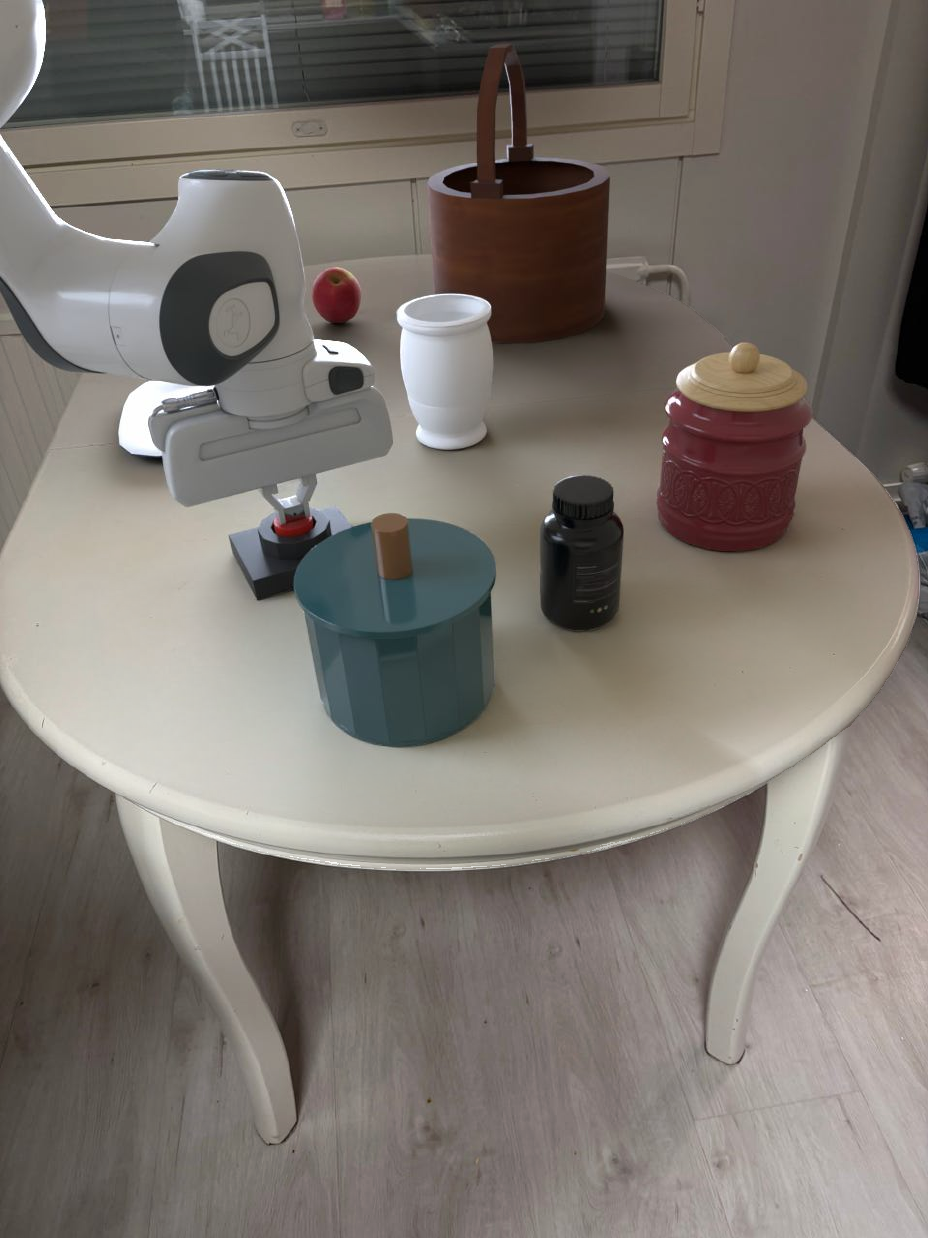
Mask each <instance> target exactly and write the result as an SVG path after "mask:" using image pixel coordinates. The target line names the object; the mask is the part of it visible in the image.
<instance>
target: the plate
mask: <svg viewBox="0 0 928 1238" xmlns="http://www.w3.org/2000/svg"><path fill="white" fill-rule="evenodd" d="M214 387H215V386H214V385H213V386H186V385H179V384H173V383H167V382H161V381H151V380H148V381H146V382H144V383H143V384H141V385H140V386H138V387H137V388H136V389H135V390H133V391H131V392H130V393H129V395H128V397H127V399H126V401H125V403H124V405H123V408H122V411H121V416H120V421H119V425H118V430H117V431H118V442H119V443H118V444H119V446H120V447H121V448H122V449H123V450H124V451H126V452H127V453H129V454H130V455H131V456H137V457H147V458H156V459H161V458H162V451H160V450H159V449H157V448H156V447H155V445H154V444H153V442H152V439H151V435H150V432H149V428H148V418H149V416H150V414H151V412H152V411H153V410H154V409H155V408H156V407H158V406H160V405H161V401H163V400H165V399H168V398H171V397H177V398H178V397H183V396H186V395H189V394H192V393H195V392H199V391H203V390H207V389H212V388H214ZM217 402H218V401H217ZM162 412H164V411H163V410H161V411H160V412H158V413H162ZM162 459H163V458H162Z"/></svg>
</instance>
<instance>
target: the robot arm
mask: <svg viewBox="0 0 928 1238" xmlns="http://www.w3.org/2000/svg"><path fill="white" fill-rule="evenodd" d="M45 46H46V17H45V8H44V2H43V0H0V129H1V128H2V127H3V126H4V125H5V124H6V123H7V122H8V121H9V120H10V119H11V117H12V116H13V115H14V114H15V113H16V111H17V110H18V109H19V107H20V106H21V105H22V103H23V102H24V101H25V99H26V97H27V96H28V95H29V93H30V91H31V89H32V88H33V86H34V85H35V82H36V80H37V77H38V75H39V73H40V70H41V67H42V63H43V59H44V52H45ZM177 199H178V200H177V203H176V206H175V208H174V210H173V212H172V214H171V216H170V218H169V219H168V220H167V222H166V224H165V225H164V226H163V228H162V229H161V230H160V231H159V232H158V233H157V234H156V235H155V236H154V237H152V238H151V239H150V240H149V242H146V241H135V240H125V239H113V238H108V237H107V238H106V237H103V236H99V235H95V234H92V233H88V232H85V231H83V230H82V229H79V228H76V227H74V226H72V225H71V224H68V223H67V222H65V221H64V220H62V219H61V218H60V217H58V215H57V214H55V212H54V210H53V209H52V208H51V207H50V205H49V204H48V202H47V201H46V199H45V197H44V196H43V195H42V193H41V192H40V191H39V189H38V187H36V185H35V183H34V182H33V180H32V179H31V178H30V176H29V175H28V174H27V172H26V171H25V169H24V167H23V166H22V165H21V163H20V162H19V160H18V159H17V158H16V156H15V155H14V153H13V151H12V150H11V149H10V147H9V146H8V144H7V143H6V141H5V140H4V139H3V137H2V135H1V134H0V294H1V296H2V298H3V300H4V302H5V304H6V306H7V308H8V310H9V312H10V315H11V316H12V318H13V320H14V323H15V324H16V326H17V328H18V330H19V332H20V333H21V335H22V337H23V338H24V340H25V341H26V343H27V344H28V345H29V347H30V348H31V349H32V350H33V352H34V353H35V354H36V355H37V356H38V357H39V358H41V359H42V360H43V361H45V362H46V363H47V364H49V365H50V366H52V367H55V368H57V369H59V370H62V371H65V372H71V373H83V374H85V373H86V374H102V375H105V374H106V375H107V374H110V375H114V376H115V375H116V376H121V377H127V378H128V377H129V378H133V379H139V380H145V381H161V382H167V383H173V384H179V385H186V386H213V385H214V386H215V387H214V388H212V389H207V390H203V391H199V392H195V393H192V394H189V395H186V396H183V397H178V398H177V397H171V398H168V399H165V400H163V401H161V405H160V406H158V407H156V408H155V409H154V410H153V411H152V412H151V414H150V416H149V418H148V428H149V432H150V435H151V439H152V442H153V444H154V445H155V447H156V448H157V449H159V450H160V451H162V464H163V465H162V466H163V470H164V475H165V480H166V484H167V487H168V490H169V493H170V495H171V496H172V498H173V500H174V501H175V502H177V503H178V504H180V505H182V506H183V507H185V508H190V507H194V506H199V505H202V504H206V503H210V502H213V501H217V500H220V499H225V498H229V497H232V496H236V495H240V494H245V493H248V492H251V491H255V490H258V491H259V493H260V494H261V496H262V497H263V498H264V500H266V501H267V502H268V503H269V504H270V505H271V506H272V508H273V510H274V512H275V515H276V518H277V520H278V522H279V524H280V525H283V524H287V523H290V522H294V521H297V520H301V519H304V518H308V517H310V516H311V515H310V509H309V507H310V503H309V502H311V499H312V497H313V494H314V492H315V490H316V488H317V485H318V479H317V474H322V473H325V472H329V471H333V470H336V469H340V468H344V467H348V466H351V465H356V464H359V463H363V462H367V461H371V460H374V459H378V458H383V457H386V456H387V455H388V453H389V452H390V450H391V448H392V446H393V445H394V435H393V429H392V424H391V423H392V422H391V419H390V414H389V411H388V408H387V403H386V400H385V398H384V396H383V394H382V393H381V392H380V391H379V390H378V388H376V386H374V385H375V383H376V372H375V369H374V367H373V365H372V364H371V362H370V361H369V360H368V359H367V358H366V357H365V355H364V354H362V353H361V352H360V351H358V350H357V349H356V348H355V347H353V346H351V345H350V344H349V343H346V342H342V341H333V340H324V339H323V340H322V339H315V335H314V331H313V328H312V326H311V323H310V321H309V319H308V315H307V312H306V307H305V296H306V295H305V294H306V288H307V287H306V285H307V284H306V283H307V282H306V277H305V276H306V275H305V268H304V263H303V262H304V261H303V258H302V252H301V251H302V250H301V247H300V242H299V237H298V232H297V228H296V223H295V220H294V216H293V213H292V210H291V207H290V203H289V201H288V198H287V196H286V193H285V190H284V188H283V187H282V185H281V183H280V182H279V181H278V179H276V178H275V177H273V176H271V175H270V174H268V173H266V172H262V171H257V170H241V169H240V170H239V169H218V168H217V169H216V168H215V169H214V168H212V169H211V168H209V169H206V168H205V169H195V170H191V171H187V172H186V173H185V174H182V175H181V176H180V177H179V178H178V184H177ZM217 401H218V402H217ZM161 410H163V411H164V412H162V413H158V412H160V411H161ZM293 480H298V482H299V485H298V487H297V490H296V493H295V495H293V496H289V497H286V498H282V499H279V498H278V496H277V494H278V493H279V490H278V485H279V484H283V483H287V482H290V481H293Z"/></svg>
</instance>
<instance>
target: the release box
mask: <svg viewBox="0 0 928 1238" xmlns="http://www.w3.org/2000/svg"><path fill="white" fill-rule="evenodd" d="M309 509H310V514H311V515H312V519H313V525H314V528H313V529H312V530H310V531H309V532H307V533H306V534H302V535H299V536H295V537H283V536H280V535H277V534H276V533H275V528H274V523H273V521H274V519H275V517H276V515H275V511H274V512H273V513H272V514H270V515H267V517H265V518H263V519H262V520H261V522H260V524H259V525H258V526H256V527H251V528H249V529H245V530H241V531H238V532H234V533H230V534H228V540H229V544H230V548H231V552H232V555H233V558H234V559H235V561H236V563H237V564H238V567H239V569H240V570H241V572H242V574H243V576H244V578H245V580H246V582H247V584H248V585H249V588H250V589H251V591H252V594H253V595H254V597H255V599H256V601H260V600H264V599H267V598H272V597H274V596H277V595H280V594H285V593H287V592H291V591H295V590H294V576H295V572H296V569H297V567H298V565H299V563H300V562H301V561H302V559H303V558H304V557H305V555H306V554H307V553H308V552H309V551H310V550H311V549H313V548H314V547H315V546H316V545H318V544H319V543H320V542H322V541H324V540H325V539H327V538H328V537H330V536H332V535H334V534H336V533H338V532H341V531H343V530H346V529H348V528H351V527H353V526H352V525H351V524H350V522H349V521H348V520H347V518H346V517H345V516H344V515H343V513H342V512H341V510H340V509H339V508H338V507H337V505H333V506H330V507H326V508H322V509H317V508H313V507H310V506H309Z"/></svg>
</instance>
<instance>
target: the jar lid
mask: <svg viewBox="0 0 928 1238" xmlns="http://www.w3.org/2000/svg"><path fill="white" fill-rule="evenodd" d="M496 579H497V563H496V558H495V556H494V554H493V552H492V550H491V548H490V547H489V546H488V544H487V543H486V542H485V541H483V539H482V538H480V536H478V535H476V534H475V533H473V532H472V531H469V530H468V529H466V528H464V527H461V526H458V525H455V524H452V523H449V522H445V521H441V520H437V519H429V518H420V517H419V518H417V517H416V518H415V517H407V516H406V515H404V514H402V513H397V512H386V513H381V514H380V515H377V516H375V517H374V518H373V519H372V520H371V521H369V522H365V523H361V524H358V525H354V526H352V527H351V528H348V529H346V530H343V531H341V532H338V533H336V534H334V535H332V536H330V537H328V538H327V539H325V540H324V541H322V542H320V543H319V544H318V545H316V546H315V547H314V548H313V549H311V550H310V551H309V552H308V553H307V554H306V555H305V557H304V558H303V559H302V561H301V562H300V563H299V565H298V567H297V569H296V572H295V576H294V590H293V591H294V595H295V600H296V602H297V604H298V606H299V607H300V608H301V610H302V612H303V614H304V613H306V614H307V615H308V616H309V617H310V618H311V619H312V620H314V621H315V622H317V623H318V624H320V625H322V626H324V627H326V628H328V629H330V630H333V631H336V632H339V633H342V634H346V635H350V636H355V637H362V638H375V639H391V638H403V637H411V636H416V635H421V634H425V633H429V632H432V631H436V630H439V629H441V628H444V627H447V626H449V625H451V624H453V623H455V622H457V621H460V620H461V619H463V618H465V617H466V616H468V615H469V614H471V613H472V612H473V611H475V610H476V609H477V608H478V607H480V605H481V604H482V603H483V602H484V601H485V600H486V599H487V597H488V596H489V594H490V593H491V594H492V592H493V589H494V587H495V584H496Z"/></svg>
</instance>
